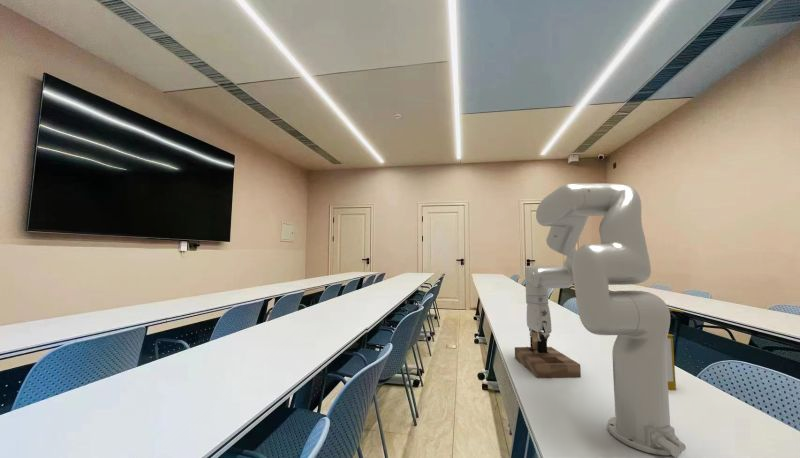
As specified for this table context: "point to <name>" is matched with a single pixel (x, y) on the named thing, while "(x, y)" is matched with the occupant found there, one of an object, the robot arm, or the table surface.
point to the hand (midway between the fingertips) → (538, 349)
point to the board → (548, 363)
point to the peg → (535, 341)
